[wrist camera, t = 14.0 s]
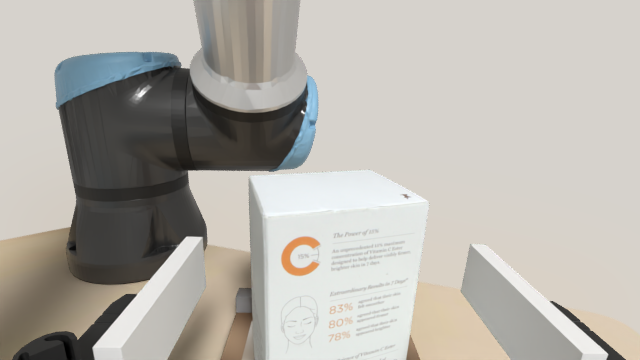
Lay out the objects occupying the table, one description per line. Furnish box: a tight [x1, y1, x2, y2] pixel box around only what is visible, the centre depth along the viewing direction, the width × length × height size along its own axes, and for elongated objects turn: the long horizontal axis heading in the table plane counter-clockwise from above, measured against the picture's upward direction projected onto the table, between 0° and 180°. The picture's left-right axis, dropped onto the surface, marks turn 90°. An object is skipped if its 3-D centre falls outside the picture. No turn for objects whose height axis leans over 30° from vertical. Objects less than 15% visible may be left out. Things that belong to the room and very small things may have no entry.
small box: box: [249, 170, 429, 360], centre depth 18 cm, size 8×6×13 cm
